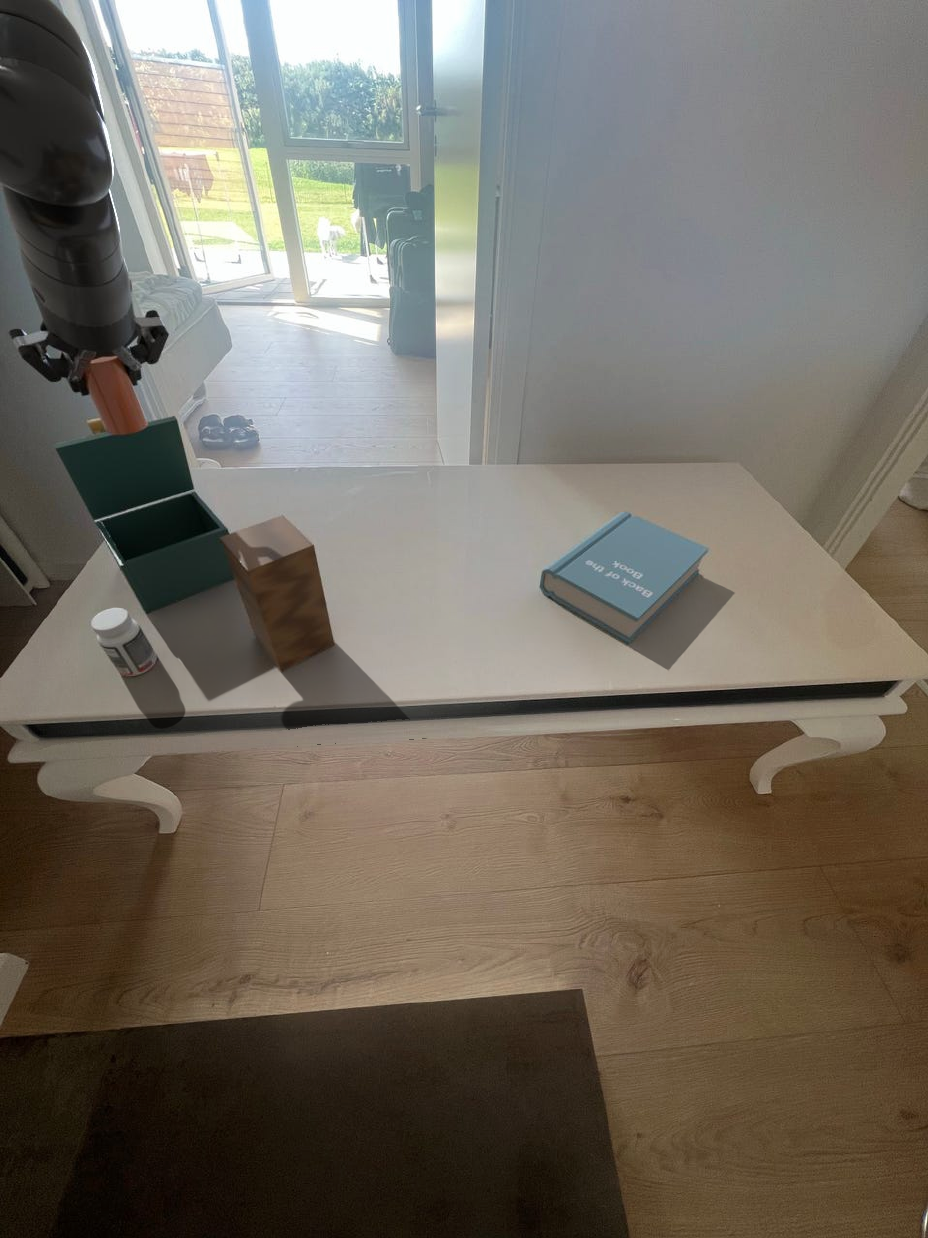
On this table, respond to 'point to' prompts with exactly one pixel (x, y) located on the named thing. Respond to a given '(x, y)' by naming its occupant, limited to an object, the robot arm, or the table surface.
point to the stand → (280, 590)
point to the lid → (127, 466)
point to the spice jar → (114, 396)
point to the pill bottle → (123, 641)
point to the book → (623, 574)
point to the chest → (168, 549)
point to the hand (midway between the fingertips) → (106, 382)
